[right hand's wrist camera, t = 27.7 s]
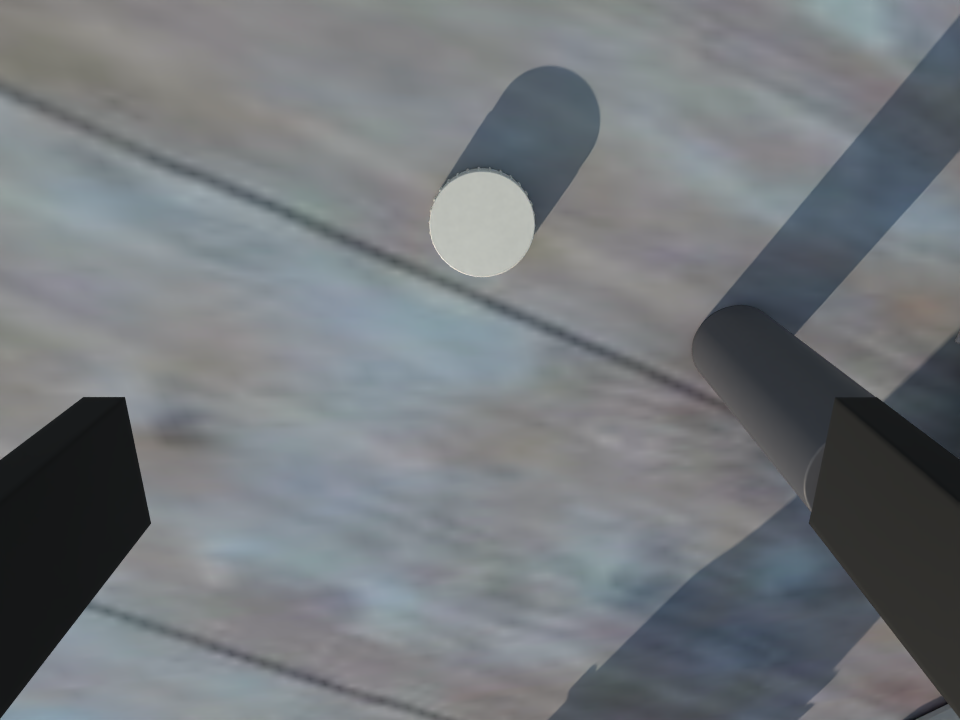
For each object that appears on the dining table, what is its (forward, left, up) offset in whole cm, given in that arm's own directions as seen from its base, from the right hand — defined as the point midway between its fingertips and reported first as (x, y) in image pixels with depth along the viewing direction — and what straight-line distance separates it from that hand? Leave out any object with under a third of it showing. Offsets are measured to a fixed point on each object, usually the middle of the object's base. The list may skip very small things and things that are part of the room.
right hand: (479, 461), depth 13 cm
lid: (0, 0, -27) cm, 27 cm away
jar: (+9, +15, -28) cm, 33 cm away
